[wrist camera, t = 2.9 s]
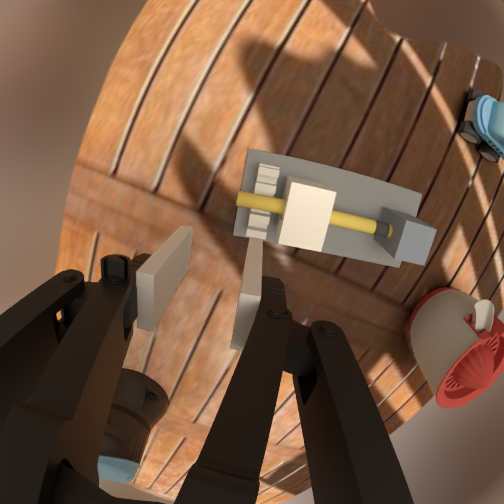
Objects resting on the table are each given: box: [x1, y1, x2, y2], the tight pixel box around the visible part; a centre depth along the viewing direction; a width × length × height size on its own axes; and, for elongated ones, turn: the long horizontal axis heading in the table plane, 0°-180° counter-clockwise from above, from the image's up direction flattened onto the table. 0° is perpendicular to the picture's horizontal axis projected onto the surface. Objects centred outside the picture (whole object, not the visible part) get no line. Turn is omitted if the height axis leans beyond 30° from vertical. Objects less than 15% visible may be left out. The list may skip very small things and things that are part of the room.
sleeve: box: [276, 176, 337, 252], centre depth 34 cm, size 5×7×7 cm
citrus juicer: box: [409, 287, 504, 409], centre depth 34 cm, size 16×17×20 cm
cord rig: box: [233, 149, 437, 268], centre depth 34 cm, size 26×12×8 cm, turn 80°
